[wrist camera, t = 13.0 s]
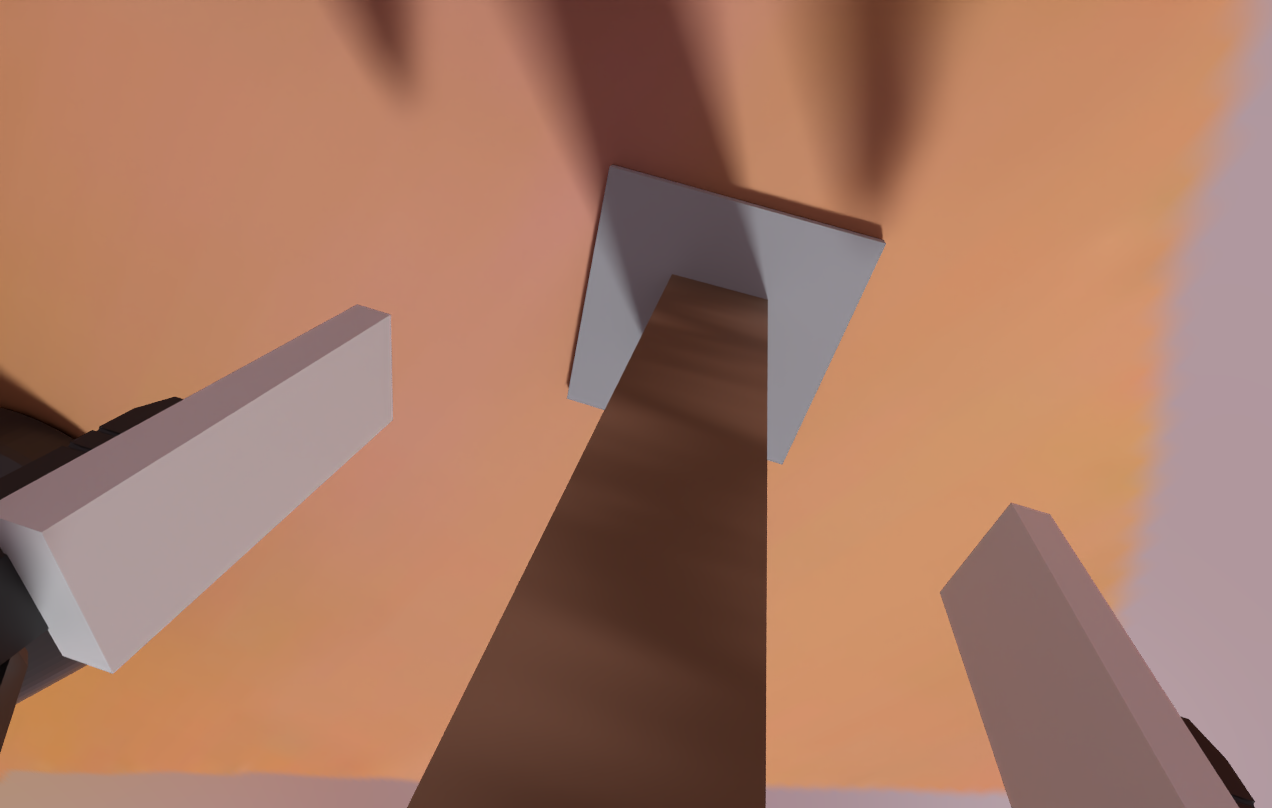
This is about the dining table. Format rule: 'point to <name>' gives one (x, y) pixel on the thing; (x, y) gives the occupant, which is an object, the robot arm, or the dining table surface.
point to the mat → (729, 258)
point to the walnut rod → (639, 595)
